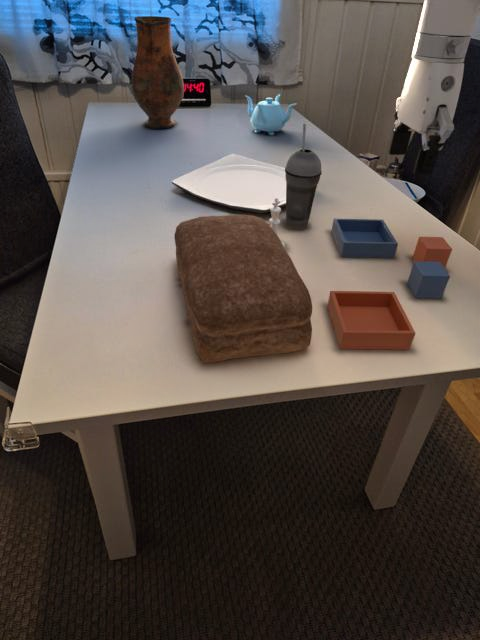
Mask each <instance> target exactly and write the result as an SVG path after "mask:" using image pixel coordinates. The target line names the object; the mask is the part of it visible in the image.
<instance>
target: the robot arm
mask: <svg viewBox="0 0 480 640" xmlns="http://www.w3.org/2000/svg"><path fill="white" fill-rule="evenodd" d="M422 5H423V6H422V10H421V14H420V19H419V23H418V26H417V32H416V35H415V39H414V43H413V47H412V52H411V62H410V64H409V66H408V70H407V73H406V77H405V80H404V84H403V87H402V91H401V95H400V97H398V98H396V101H395V113H394V115H393V116H394V123H393V125H392V129H393V131H392V136H391V140H390V145H389V148H388V154H389V155H390V156H404V155H406V154H407V152H408V148H409V145H410V141H411V136H412V133H413V131H415V132H416V133H418V134H421V143H422V144H421V145H422V148H419V149H418V152H417V156H416V160H415V162H414V163H415V164H414V167H413V171H412V173H413V174H414V175H417V176H418V175H421V176H422V175H432V174H433V173H434V169H435V166H436V164H437V163H436V162H437V159H438V157H439V154H440V151H442V149H443V147H444V145H446V144H447V142H448V140H449V137H450V136H451V135H452V133H453V132H454V130H455V125H454V121H453V120H454V117H455V114H456V109H457V106H458V102H459V98H460V92H461V88H462V83H463V78H464V71H465V70H464V69H465V63H464V62H465V58H466V54H467V52H468V48H469V45H470V41H471V38H472V35H473V32H474V29H475V25H476V21H477V18H478V15H479V12H480V0H424V1H423V4H422ZM412 130H413V131H412ZM430 136H433V137H432V138H430Z"/></svg>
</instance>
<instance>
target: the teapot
mask: <svg viewBox="0 0 480 640" xmlns="http://www.w3.org/2000/svg"><path fill="white" fill-rule="evenodd" d="M244 96H245V98H246V100H247V114H248V116H249V118H250V124H251V126H252V128H254V129H255V130H254V133H262V132H267V133H268V135H269V136H274V135H275V132H281V130H282V129H283V128H284V127H285V126H286V123H287V122H289V121H290V118H291V115H292V111H293V108H294V107H295V106H296V105H297V103H291V104H289V105H288V107H287V110H286V113H285V111H284V109H283V106H282V105H281V103H280V97H281V94H280V93H277V94H276V96H275V98H273V97H266V98H265V100H261V101H259V102H258V103H257V104H256V106H255V107H254V106H253V100H252V98H251V96H249V95H248V94H247V95H246V94H245V95H244Z"/></svg>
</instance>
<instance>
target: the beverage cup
mask: <svg viewBox="0 0 480 640" xmlns="http://www.w3.org/2000/svg"><path fill="white" fill-rule="evenodd" d="M306 129H307V124H306V123H303V124H302V142H301V143H302V145H301V148H300V149H297V150H295V152H293V153H292V154H291V155H290V156H289V157H288V160H287V161H286V165H285V167H284V168H285V172H286V173H285V177H286V205H285V225H286V227H287V228H289V229H291V230H294V231H302V230H305V229H307V228H308V224H309V221H310V217H311V213H312V209H313V205H314V200H315V196H316V192H317V188H318V184H319V182H320V180H321V176H322V174H323V172H322V171H323V170H322V162H321V159H320V157H319V156H318V154H317V153H316V152H315V151H313V150H311V149H308V148H306V132H307V131H306Z"/></svg>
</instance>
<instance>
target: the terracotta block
mask: <svg viewBox="0 0 480 640" xmlns="http://www.w3.org/2000/svg"><path fill="white" fill-rule="evenodd" d="M452 251H453V248H452V247H451V246H450V244H449V243H448V241H447V240H446V239H445V238H444V237H442V236H418V238H417V241H416V245H415V248H414V251H413V255H412V259H413V262H414V261H415V262H440V263H441V264H442V266H443V267H444V268H445V269H446V267H447V265H448V262H449V260H450V258H451V257H450V256H451V254H452Z"/></svg>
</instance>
